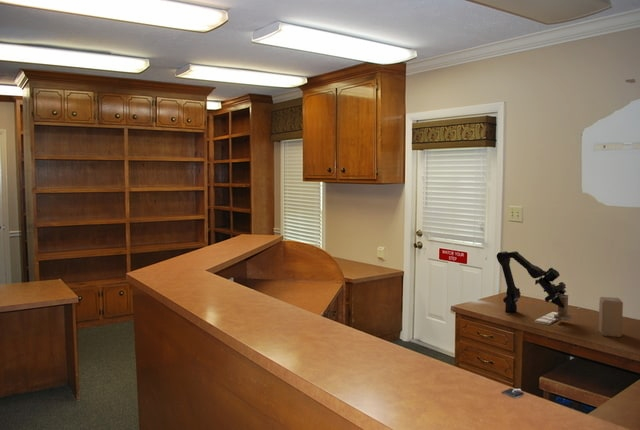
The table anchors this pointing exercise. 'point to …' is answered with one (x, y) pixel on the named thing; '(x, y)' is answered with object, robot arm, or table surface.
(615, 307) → the wooden block
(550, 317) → the ash board
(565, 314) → the square column stand
